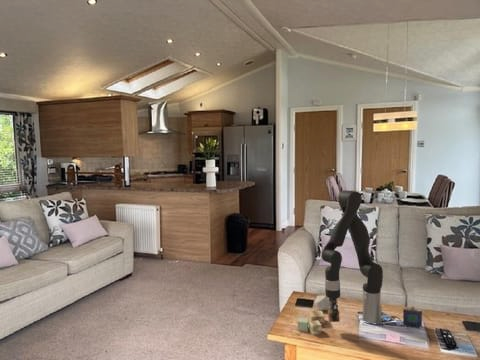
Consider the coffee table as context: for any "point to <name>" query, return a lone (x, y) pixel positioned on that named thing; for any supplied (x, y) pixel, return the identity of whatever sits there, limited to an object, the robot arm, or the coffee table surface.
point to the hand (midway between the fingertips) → (333, 318)
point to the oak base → (317, 316)
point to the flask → (412, 317)
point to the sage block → (303, 324)
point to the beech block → (315, 327)
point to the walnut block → (331, 315)
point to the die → (322, 303)
